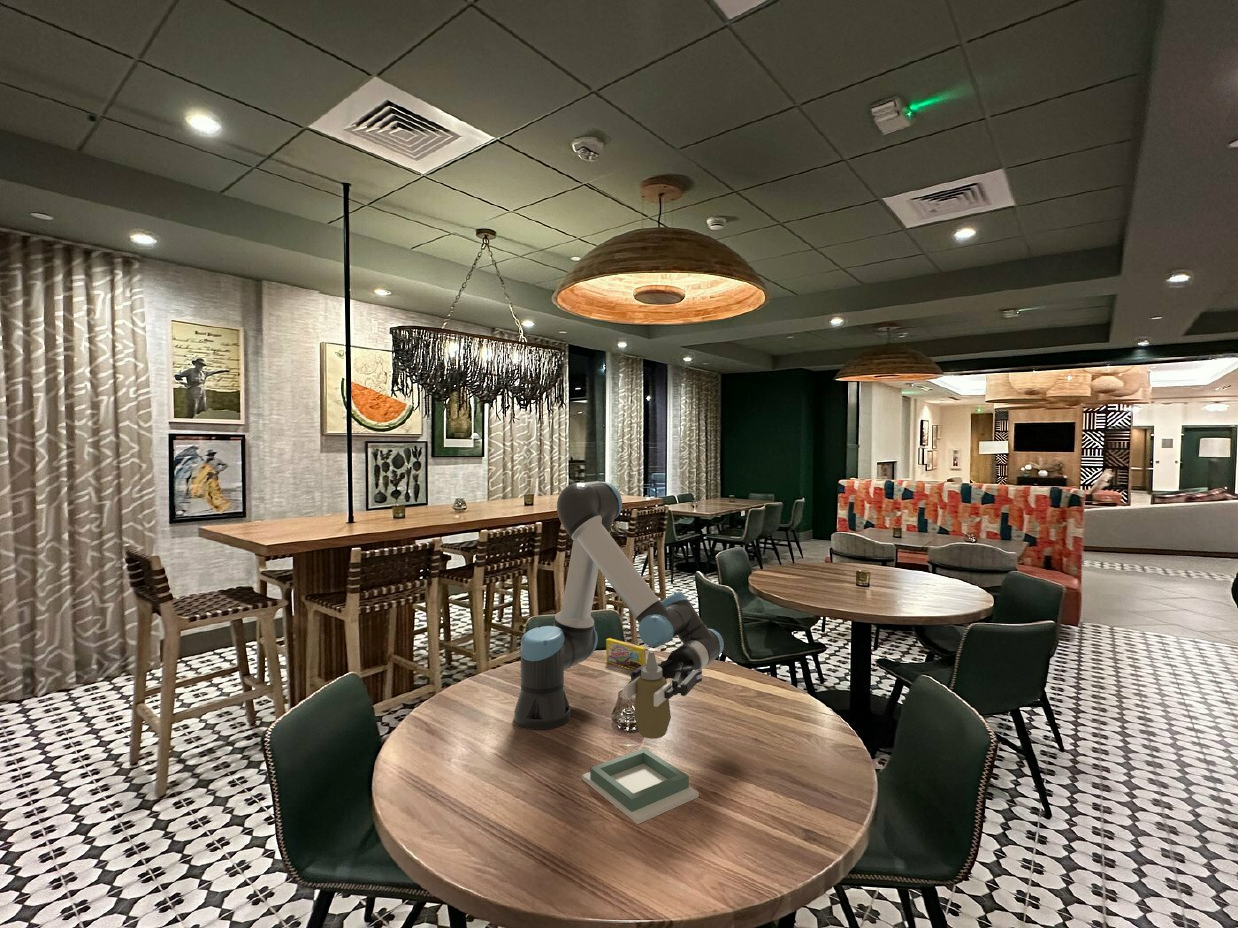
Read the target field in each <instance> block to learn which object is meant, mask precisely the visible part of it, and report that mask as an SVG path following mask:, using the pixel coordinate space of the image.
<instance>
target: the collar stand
mask: <svg viewBox="0 0 1238 928" xmlns="http://www.w3.org/2000/svg"><path fill="white" fill-rule="evenodd" d="M581 777H582V778H581V779H582V781H584V782H585V783H586V784H587V785H588V786H590V787H591V789H594V791H596V792H597V793H598V794H600V795H601V796H602V797H604V799H606V801H608V802H609V803H610V804H612V805H613V806H614V807H616V808H617V809H618V810H619V811H621V812H622V813H623V814H624V815H626V817H628V818H629V819H630V820H632V821H633V822H634V823H635V824H637V825H639V824H641V823H643V822H646V821H648V820H651V819H653V818H655V817H657V816H660V815H661V814H664V813H666V812H669V811H670V810H673V809H675V808H678V807H680V806H682V805H684V804H686V803H688V802H691V801H693V800H696V799H697V798H699V797H700V796H699V795H700V794H699V793H700V792H699V791H698V790H696V789H694V788H693V787H691V786H690V784H689V783H690V776H689V775H688V774H687V773H685V772H683V771H682V770H681V769H679V768H677V767H675V766H674V765H673V764H671V763H669V762H668V761H667V760H664V759H663V758H661V757H660V756H658V755H656V754H655V753H653V752H652V751H650V750H649V749H647V748H646V747H645V748H642V749H638V750H635V751H632V752H631V753H627V754H625V755H621V756H619V757H616V758H613V759H610V760H608V761H605V762H601V763H599V764H596V765H594V766H592V767H590V770H589V772H586V773H583V774H582V775H581Z"/></svg>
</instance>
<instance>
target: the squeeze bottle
mask: <svg viewBox="0 0 1238 928" xmlns="http://www.w3.org/2000/svg"><path fill="white" fill-rule="evenodd" d="M647 654H648V655H647V658H646V663H647V664H646V666H644V667H642V668H641V677H639V679H638V680H637V689H636V694H635V703H634V714H633V715H634V721H635V724H636V727H637V729H638V733H639V734H640V735H641V736H642V737H644V738H645V739H653V740H655V739H660V738H663V737H664V736H665V735H666V734H667V732H668V728H669V725H670V723H671V722H670V721H671V720H672V719H671V718H672V715H671V714H672V713H671V706H670V699H666V700H665V701H664V702H662V703H661V704H660V705H659V706H658V707H655V706H654V693H655V692H656V691H658V690H659V689H660V688H661V687H663V686H664V685H665V684H667V683H668V681H667V679H665V678H664V677H663V676H662V668H661V667H660V666H657V663H658V662H657V660H656V655H655V652H654V651H649V652H648V653H647Z"/></svg>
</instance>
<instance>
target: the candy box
mask: <svg viewBox="0 0 1238 928" xmlns="http://www.w3.org/2000/svg"><path fill="white" fill-rule="evenodd" d="M605 643H606V644H605V647H606V648H605V649H606V652H605V653H606V655H605V656H606V663H608V664H611V663H612V665H614V664H615V665H614V666H617V665H620V666H619V667H621V666H623V667H622V668H624V667H626V668H625V669H628V668H629V669H628V670H631V669H632V671H634V670H636V669H637V668H639V667H641V666H643V665H645V664H646V663H647V652H646V651H647V649H646V647H644V646H641V645H637V644H633V643H629V642H627V641H622V640H618V639H614V638H611V637H609V638H607V639H605Z"/></svg>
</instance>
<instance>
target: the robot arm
mask: <svg viewBox="0 0 1238 928" xmlns="http://www.w3.org/2000/svg"><path fill="white" fill-rule="evenodd" d="M622 508H623V500H622V495H621V494H620V492H619V490H618V489H617V488H616V486H614V485H613V484H612V483H609V482H607V481H606V482H605V481H600V480H599V481H598V480H594V481H586V482H574V483H570V484H569V485H567V486H565V488H564V489H562V490H561V492H560V494H559V496H558V498H557V501H556V512H557V515H558V516H557V517H558V518H559V521H560V523H561V524H562V526H563V528H564V530H565V531H566V533H567V534H568V536H569V537H570V538H571V539H572V540H573V541H572V547H571V553H570V559H569V563H568V565H569V566H568V570H567V578H566V581H565V588H564V594H563V599H562V605H561V609H560V611H558V612H557V613H556V614H555V615H554V620H553V625H543V626H540V627H538V626H537V627H534V628H532V629H529V630H528V631H526V632H525V633H524V634H523V635H522V637H521V639H520V640H521V641H520V648H519V652H520V653H519V654H520V692H519V695H518V699H517V701H516V703H515V708H514V711H513V713H514V715H513V716H514V722H515V724H516V725H518V726H519V727H521V728H525V729H529V730H549V729H550V730H551V729H555V728H558V727H560V726H561V727H562V725H565V724H566V723H567V722H568V721H569V720H570V718H571V706H570V703H569V700H568V697H567V694H566V690H565V671H567V670H568V669H570V668H572V667H574V666H576V665H577V664H580V663H582V662H584V661H586V660H587V659H588V658H589V657H590V656H592V654H594V652H595V651H596V648H597V645H598V639H599V638H598V632H597V631H596V627H595V620H594V618H593V617H592V616H591V615H592V614H591V613H592V608H593V603H594V598H595V591H596V587H597V586H596V585H597V581H598V576H599V571H600V572H601V573H602V575H603V576H604V578H605V579H606V581H607V582H608V583H609V585H610V586H611V587H612V589H613V590H614V591H615V592H616V594H617V595H618V596H619V598H620V599H621V601H622V602H623V603H624V605H625V606H626V608H627V609H628V610H629V611H630V613H631V614H632V615H633V617H634V618H635V620H636V621H637V623H638V634H639V638H640V640H641V642H643V644H645V645H646V646H649V647H651V648H652V647H653V648H657V647H660V646H663V645H665V644H668V643H669V642H670V641H672V639H674V638H676V637H678V639H679V640H680V642H682V645H680V646H678V647H677V648H675V650H673V651H671V652H670V653H669V655H668V656H667V659H666V660H663V661H661V662H656V663H657V666H660V667H661V668H662V676H663V677H664V678H665V679H666V680H667V679H672V680H671V682H667V684H665V685H664V686H663V687H661V688H660V689H659V690H658V691H656V692H655V693H654V706H655V707H658V706H659V705H660V704H661V703H662V702H664V701H665V700H666V699H669V700H670V699H671V698H673V696H677V695H678V694H680V696H682V697H686V696H687V695H688V694H689V693H690V692H691V690H692V689H694V687H695V686H696V685H697V684H698V683H700V682H702V681H703V670H704V669H705V668H706V667H707V666H709V665H711V664H712V663H713V662H714V661H715V660H716V659H718V658H719V656H720V654H722V652H723V650H724V643H725V642H724V639H723V637H722V635H721V634H720V633H719V632H718V631H717V630H715V629H712V628H708V627H707V624H705V622H704V621H703V620H702V618H701V617H700V615H699V614H698V612H697V611H696V609H695V608H694V607H693V605H692V603H691V601H690V600H689V599H688V597H687V596H686V595H685V594H684V592H682V591H680V590H678V591H675V592H673V593H672V594H670V595H668V597H666V598H665V599H663V600H662V601H661V600H660V599H659V597H658V596H657V595H656V594H655V592H654V591H653V589H652V588H651V587H650V585H649V584H648V583H647V581H645V579H644V578H643V577H642V575H641V574H640V573H639V570H637V568H636V567H635V566H634V565H633V563H632V562H631V561H630V559H629V558H628V557H627V555H626V554H625V553H624V551H623V550H622V548H621V547H620V546H619V544H618V543H617V542H616V541H615V539H614V538H613V536H612V535H611V534H610V533H611V532H612V526H613V521H614V520H615V519H617V518H618V516H619V515H620V514H621V512H622ZM646 664H647V662H646ZM646 664H645V665H643V666H641V667H639V668H637V669H636V670H632V671H630V680H629V681H628V683H627V684H625V686H623V688H624V689H623V690H624V692H623V693H624V698H623V699H624V700H629V699H631V698H632V697H633V696H634V695H636V689H637V680H638V679H639V677H641V668H642V667H644V666H646Z"/></svg>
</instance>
